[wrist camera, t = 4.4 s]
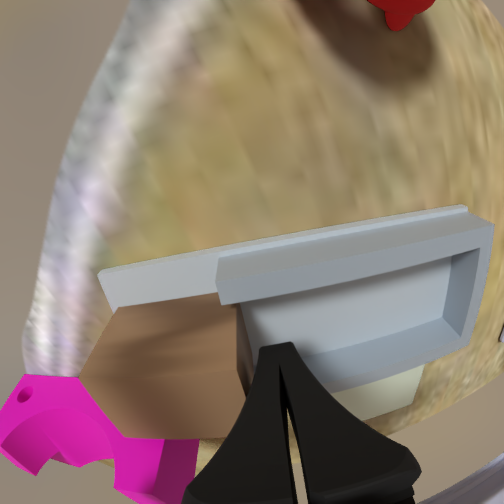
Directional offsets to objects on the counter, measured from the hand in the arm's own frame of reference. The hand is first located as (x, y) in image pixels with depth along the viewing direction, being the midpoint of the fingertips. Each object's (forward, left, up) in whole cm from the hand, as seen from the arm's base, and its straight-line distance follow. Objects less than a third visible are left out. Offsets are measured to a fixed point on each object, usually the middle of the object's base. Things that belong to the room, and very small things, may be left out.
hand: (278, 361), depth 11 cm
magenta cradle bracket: (+13, +6, -3) cm, 15 cm away
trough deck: (-2, 0, -3) cm, 4 cm away
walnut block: (+4, 0, -3) cm, 5 cm away
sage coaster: (-6, +8, -3) cm, 11 cm away
